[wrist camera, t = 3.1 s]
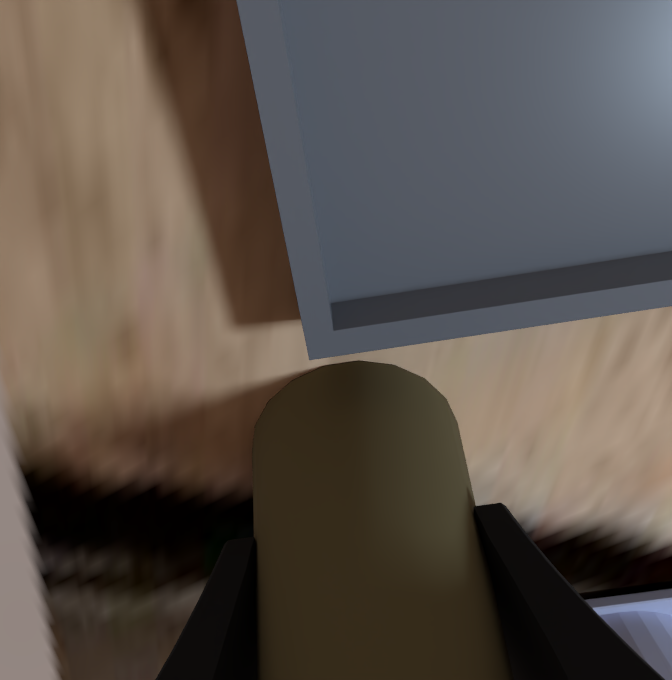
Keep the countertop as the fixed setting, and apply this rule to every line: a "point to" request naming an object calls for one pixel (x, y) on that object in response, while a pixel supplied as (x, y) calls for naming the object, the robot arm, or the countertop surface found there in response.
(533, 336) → the countertop surface
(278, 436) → the cork
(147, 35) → the countertop surface
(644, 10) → the tray
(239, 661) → the robot arm
